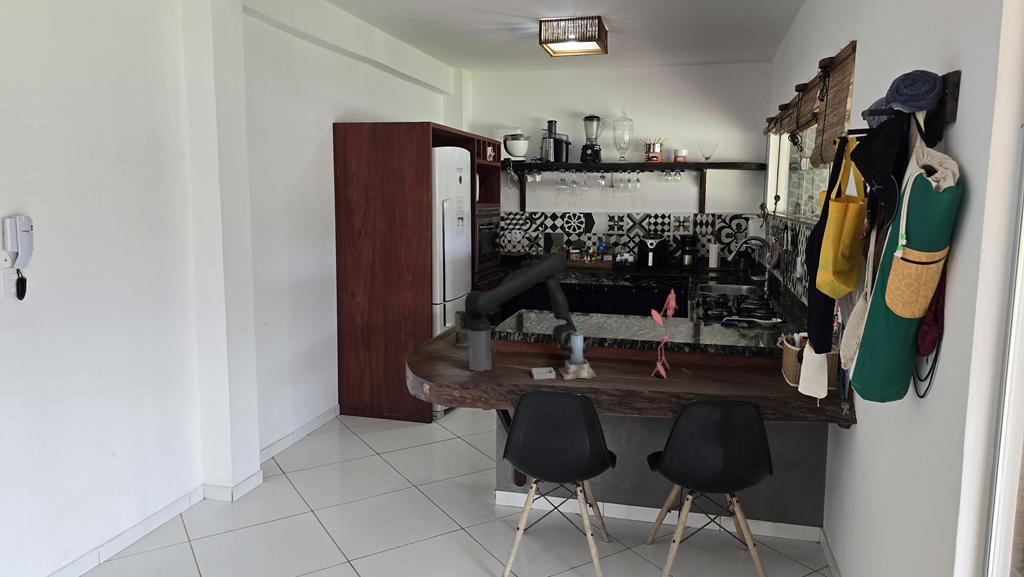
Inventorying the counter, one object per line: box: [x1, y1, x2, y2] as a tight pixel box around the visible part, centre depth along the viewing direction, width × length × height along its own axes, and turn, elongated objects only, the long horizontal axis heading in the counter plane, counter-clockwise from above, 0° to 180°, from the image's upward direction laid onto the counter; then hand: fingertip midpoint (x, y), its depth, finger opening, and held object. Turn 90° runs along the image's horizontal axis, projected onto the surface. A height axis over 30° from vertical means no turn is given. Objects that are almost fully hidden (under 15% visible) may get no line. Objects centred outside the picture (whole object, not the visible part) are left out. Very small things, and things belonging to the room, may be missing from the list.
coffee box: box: [454, 310, 469, 347], centre depth 341 cm, size 9×6×16 cm
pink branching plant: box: [646, 288, 690, 381], centre depth 284 cm, size 15×26×35 cm, turn 157°
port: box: [558, 358, 597, 380], centre depth 290 cm, size 13×13×5 cm
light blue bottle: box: [570, 331, 584, 365], centre depth 289 cm, size 5×5×15 cm
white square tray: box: [531, 367, 556, 380], centre depth 289 cm, size 9×9×2 cm
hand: (578, 351), depth 286 cm, fingers closed on light blue bottle, 5 cm apart
